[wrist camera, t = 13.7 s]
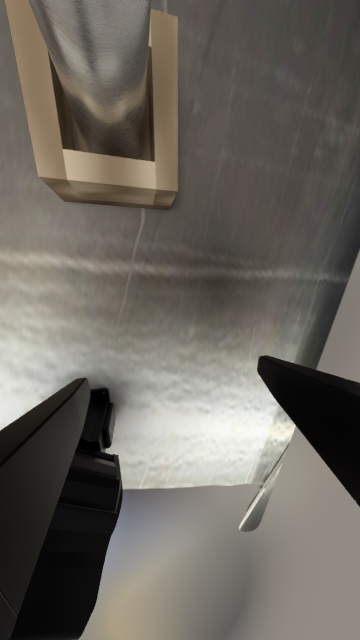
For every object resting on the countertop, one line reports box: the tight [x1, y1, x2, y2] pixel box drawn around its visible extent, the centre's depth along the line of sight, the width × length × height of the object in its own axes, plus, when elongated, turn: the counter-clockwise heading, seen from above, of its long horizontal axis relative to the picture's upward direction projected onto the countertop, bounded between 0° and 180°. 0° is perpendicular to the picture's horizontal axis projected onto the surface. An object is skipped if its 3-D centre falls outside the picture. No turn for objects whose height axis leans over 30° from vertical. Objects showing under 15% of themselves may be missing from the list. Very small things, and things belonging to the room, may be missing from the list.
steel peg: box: [28, 0, 151, 160], centre depth 9 cm, size 5×5×13 cm
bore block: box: [5, 0, 178, 210], centre depth 14 cm, size 10×10×4 cm
